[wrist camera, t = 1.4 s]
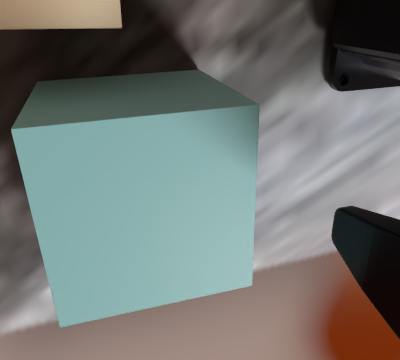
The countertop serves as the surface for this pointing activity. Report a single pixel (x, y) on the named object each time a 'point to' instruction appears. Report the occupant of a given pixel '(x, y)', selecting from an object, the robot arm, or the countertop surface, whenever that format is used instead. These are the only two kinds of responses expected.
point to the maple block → (60, 14)
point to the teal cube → (139, 189)
